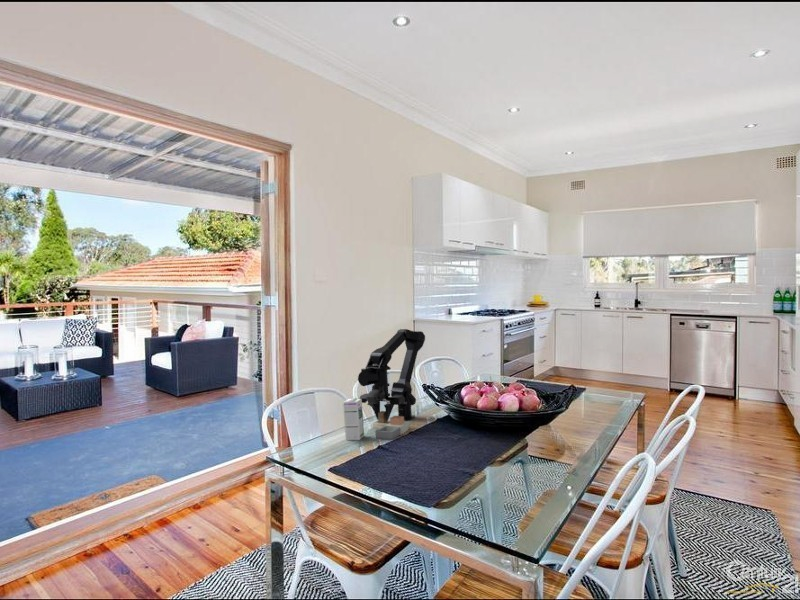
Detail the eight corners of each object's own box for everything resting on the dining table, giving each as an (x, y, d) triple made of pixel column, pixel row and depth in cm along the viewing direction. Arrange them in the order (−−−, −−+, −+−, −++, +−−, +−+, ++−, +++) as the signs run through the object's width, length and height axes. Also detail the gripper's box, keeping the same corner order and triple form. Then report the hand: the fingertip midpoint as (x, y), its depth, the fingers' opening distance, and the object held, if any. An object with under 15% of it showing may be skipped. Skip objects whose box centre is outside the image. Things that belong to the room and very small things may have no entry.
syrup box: (360, 440, 177) (358, 401, 177) (345, 440, 178) (342, 401, 178) (364, 435, 183) (362, 398, 183) (349, 435, 184) (347, 398, 184)
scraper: (380, 424, 200) (379, 409, 200) (393, 425, 197) (392, 410, 197) (373, 428, 194) (372, 413, 194) (385, 429, 192) (385, 414, 192)
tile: (395, 421, 189) (394, 415, 189) (404, 422, 188) (403, 416, 188) (390, 424, 186) (390, 418, 186) (399, 425, 184) (399, 418, 184)
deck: (393, 428, 191) (393, 421, 191) (409, 429, 188) (408, 422, 188) (384, 433, 185) (384, 425, 185) (400, 434, 182) (400, 426, 182)
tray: (384, 433, 185) (384, 426, 185) (400, 434, 181) (400, 427, 181) (375, 438, 179) (375, 430, 179) (392, 440, 175) (391, 432, 175)
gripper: (350, 384, 193) (352, 423, 193) (391, 386, 184) (393, 426, 184) (365, 380, 203) (367, 416, 203) (404, 381, 194) (406, 419, 194)
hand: (382, 420), depth 196 cm, fingers open, 4 cm apart
